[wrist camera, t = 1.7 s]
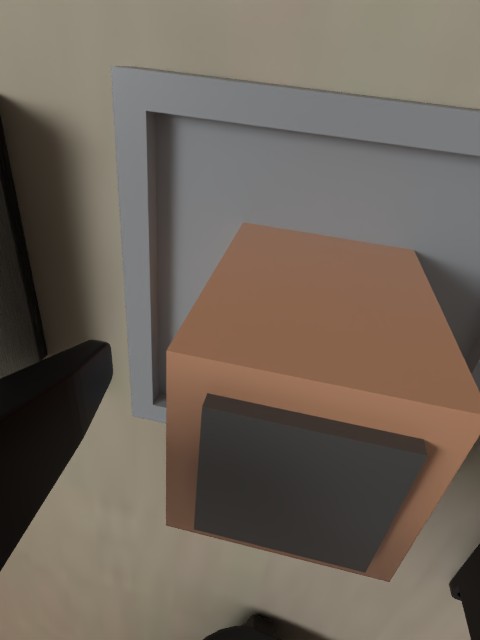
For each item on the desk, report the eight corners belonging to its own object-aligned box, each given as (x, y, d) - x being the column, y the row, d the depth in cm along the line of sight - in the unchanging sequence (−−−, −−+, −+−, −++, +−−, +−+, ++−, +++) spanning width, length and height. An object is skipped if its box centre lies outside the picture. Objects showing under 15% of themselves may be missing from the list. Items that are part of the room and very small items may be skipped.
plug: (413, 250, 10) (498, 433, 5) (366, 382, 13) (391, 599, 8) (242, 222, 11) (159, 363, 6) (229, 354, 13) (161, 539, 8)
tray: (612, 125, 9) (648, 132, 8) (431, 456, 15) (439, 484, 14) (132, 66, 10) (110, 65, 9) (145, 394, 16) (132, 416, 15)
